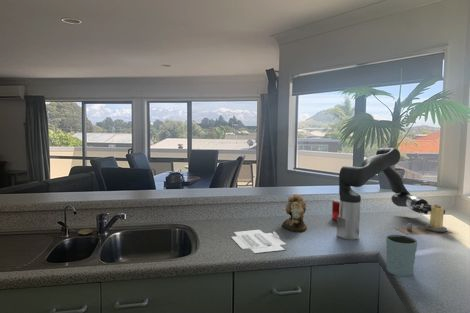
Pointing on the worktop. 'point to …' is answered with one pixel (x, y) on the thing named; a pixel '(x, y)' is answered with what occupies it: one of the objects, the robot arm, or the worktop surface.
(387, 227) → the worktop surface
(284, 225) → the brown bust statue
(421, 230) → the walnut board
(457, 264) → the worktop surface
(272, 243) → the white paper stack
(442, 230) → the disc
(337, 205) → the canned food
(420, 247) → the worktop surface
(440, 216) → the brass sleeve
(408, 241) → the pale green pot
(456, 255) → the worktop surface
